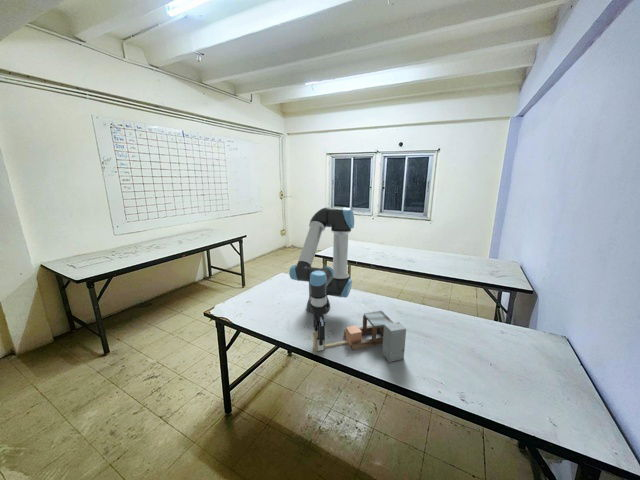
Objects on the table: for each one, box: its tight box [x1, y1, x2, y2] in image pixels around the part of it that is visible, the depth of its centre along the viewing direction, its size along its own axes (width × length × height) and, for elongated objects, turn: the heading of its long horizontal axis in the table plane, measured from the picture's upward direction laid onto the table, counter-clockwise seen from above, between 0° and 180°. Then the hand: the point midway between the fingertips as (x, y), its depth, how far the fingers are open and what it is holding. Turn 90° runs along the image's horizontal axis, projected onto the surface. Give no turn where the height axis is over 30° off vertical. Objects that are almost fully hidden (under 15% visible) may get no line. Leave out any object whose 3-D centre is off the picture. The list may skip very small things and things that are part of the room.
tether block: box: [312, 325, 363, 352], centre depth 126 cm, size 6×24×8 cm, turn 106°
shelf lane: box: [343, 310, 395, 351], centre depth 130 cm, size 12×22×11 cm, turn 106°
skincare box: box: [381, 321, 407, 363], centre depth 117 cm, size 8×7×16 cm
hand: (319, 346), depth 124 cm, fingers open, 5 cm apart
